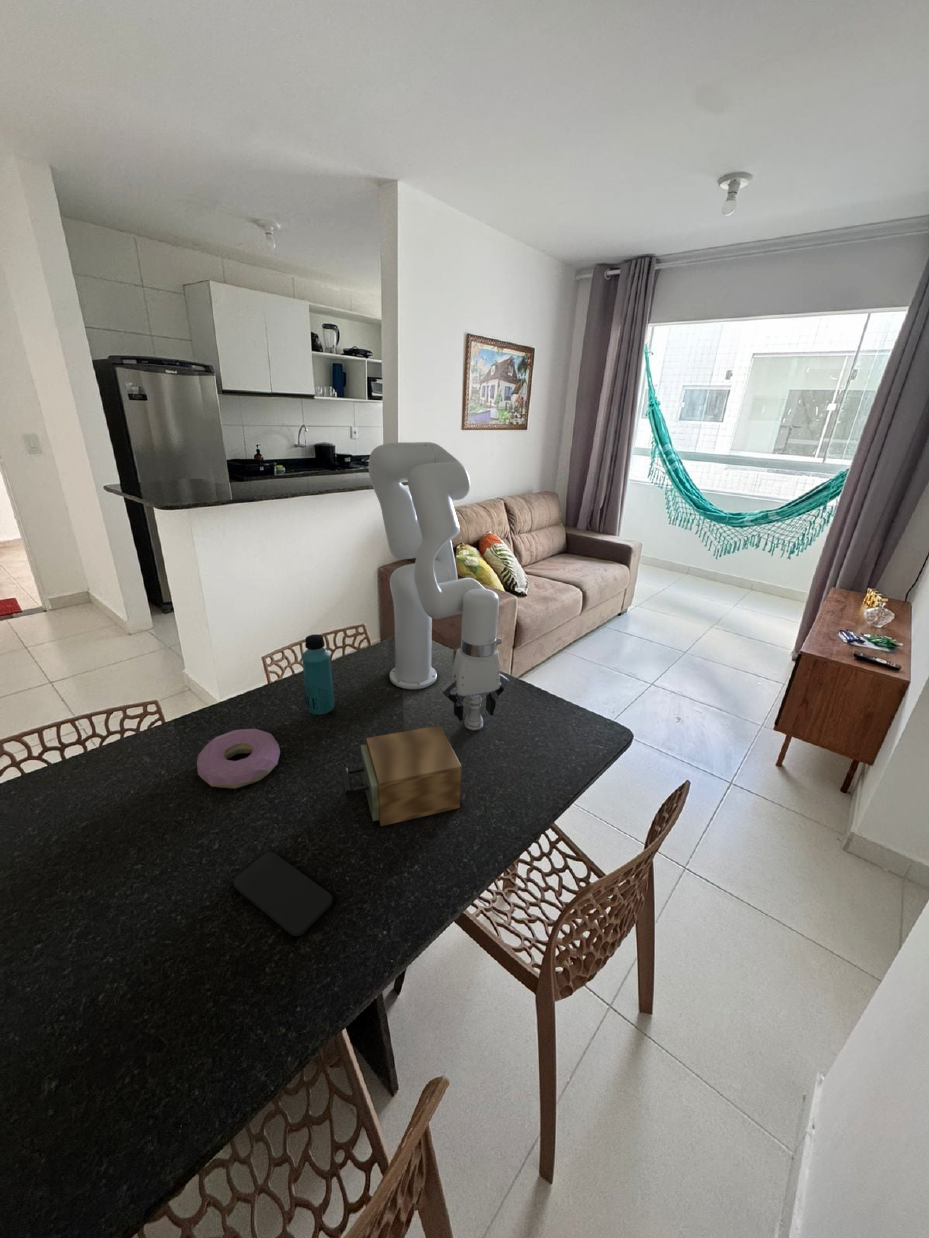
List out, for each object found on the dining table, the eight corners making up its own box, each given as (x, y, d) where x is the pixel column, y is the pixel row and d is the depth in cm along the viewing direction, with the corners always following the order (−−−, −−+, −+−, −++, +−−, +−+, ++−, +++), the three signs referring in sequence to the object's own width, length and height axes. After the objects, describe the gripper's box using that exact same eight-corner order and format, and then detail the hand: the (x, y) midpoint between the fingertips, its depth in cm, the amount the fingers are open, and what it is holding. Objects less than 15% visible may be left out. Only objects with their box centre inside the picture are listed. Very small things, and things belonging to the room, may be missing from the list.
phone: (296, 936, 71) (229, 881, 78) (296, 940, 71) (230, 885, 78) (335, 897, 76) (270, 849, 84) (336, 900, 77) (270, 852, 84)
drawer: (348, 826, 89) (346, 791, 85) (340, 782, 98) (337, 749, 95) (446, 804, 94) (447, 770, 91) (429, 764, 104) (429, 732, 101)
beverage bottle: (339, 706, 124) (333, 631, 116) (329, 722, 118) (323, 644, 110) (312, 703, 124) (305, 629, 116) (302, 719, 118) (294, 642, 110)
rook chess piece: (461, 728, 118) (462, 698, 114) (468, 718, 121) (469, 689, 118) (479, 733, 116) (481, 703, 113) (485, 722, 120) (487, 693, 117)
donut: (237, 736, 112) (234, 717, 110) (296, 753, 107) (294, 734, 105) (179, 782, 98) (175, 761, 96) (244, 804, 94) (240, 782, 92)
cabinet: (380, 826, 90) (379, 782, 86) (367, 778, 101) (366, 738, 97) (459, 807, 95) (461, 766, 91) (439, 764, 106) (440, 725, 102)
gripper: (507, 634, 116) (502, 700, 124) (434, 642, 111) (433, 711, 118) (522, 648, 110) (515, 717, 117) (445, 658, 104) (443, 730, 111)
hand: (474, 714), depth 117 cm, fingers open, 6 cm apart
